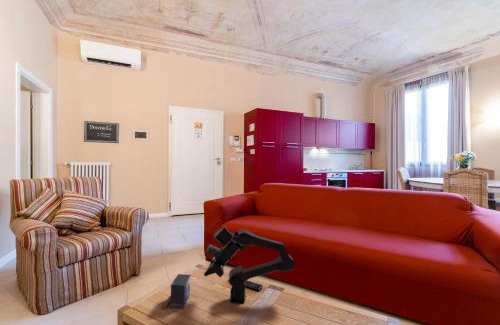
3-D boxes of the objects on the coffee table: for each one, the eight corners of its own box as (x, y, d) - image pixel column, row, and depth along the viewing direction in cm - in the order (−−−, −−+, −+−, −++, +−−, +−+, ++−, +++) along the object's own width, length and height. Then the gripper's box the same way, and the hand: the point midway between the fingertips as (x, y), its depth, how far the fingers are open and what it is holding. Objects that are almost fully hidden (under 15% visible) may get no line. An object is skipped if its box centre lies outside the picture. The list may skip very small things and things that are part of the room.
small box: (184, 308, 111) (184, 285, 111) (169, 308, 111) (170, 284, 111) (190, 295, 122) (190, 274, 122) (177, 295, 122) (177, 273, 122)
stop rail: (178, 292, 124) (178, 289, 124) (165, 309, 110) (165, 305, 110) (175, 292, 124) (175, 289, 124) (161, 308, 110) (161, 305, 110)
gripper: (217, 233, 127) (194, 255, 126) (216, 246, 109) (189, 272, 107) (232, 248, 128) (210, 270, 127) (234, 264, 110) (208, 290, 109)
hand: (204, 275), depth 118 cm, fingers closed
